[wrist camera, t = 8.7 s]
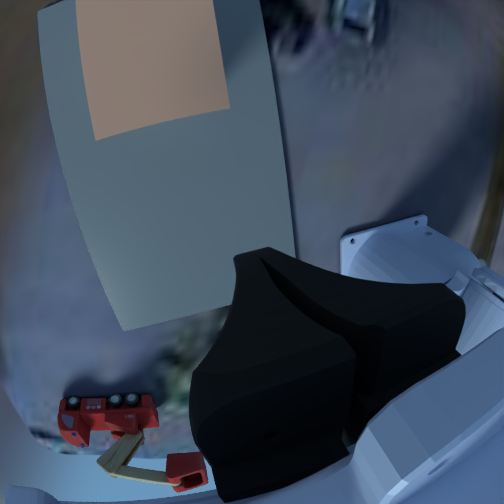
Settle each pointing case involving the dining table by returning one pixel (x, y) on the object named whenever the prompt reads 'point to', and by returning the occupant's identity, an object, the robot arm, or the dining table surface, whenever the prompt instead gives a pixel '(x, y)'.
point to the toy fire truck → (127, 438)
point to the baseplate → (173, 176)
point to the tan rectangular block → (149, 62)
